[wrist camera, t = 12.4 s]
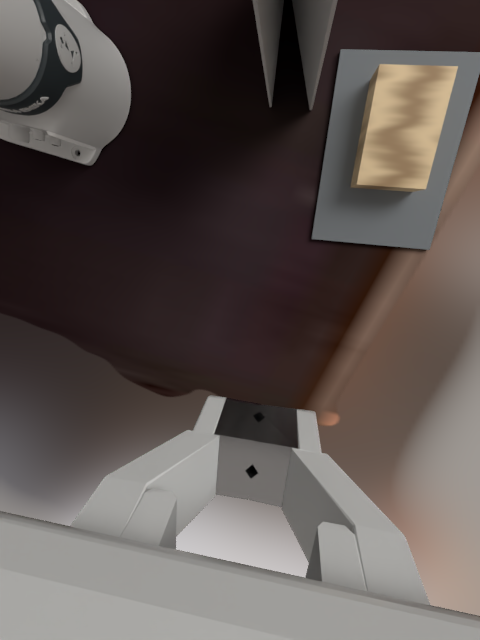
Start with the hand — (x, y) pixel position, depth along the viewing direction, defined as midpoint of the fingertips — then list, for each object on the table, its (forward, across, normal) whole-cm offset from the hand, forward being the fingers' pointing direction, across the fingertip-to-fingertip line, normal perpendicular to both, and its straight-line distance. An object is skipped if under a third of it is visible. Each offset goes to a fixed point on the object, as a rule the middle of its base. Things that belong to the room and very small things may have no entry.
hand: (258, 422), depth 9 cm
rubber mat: (+39, -12, -14) cm, 43 cm away
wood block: (+36, -12, -10) cm, 40 cm away
